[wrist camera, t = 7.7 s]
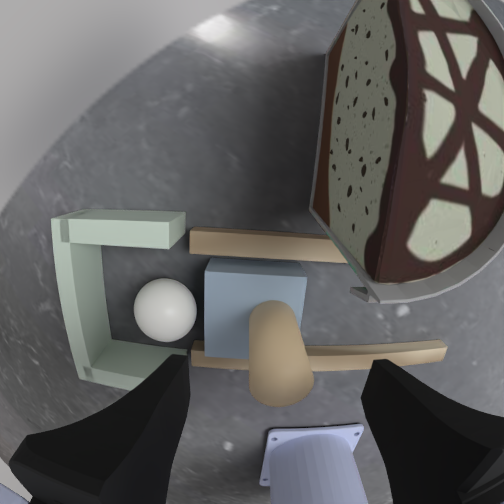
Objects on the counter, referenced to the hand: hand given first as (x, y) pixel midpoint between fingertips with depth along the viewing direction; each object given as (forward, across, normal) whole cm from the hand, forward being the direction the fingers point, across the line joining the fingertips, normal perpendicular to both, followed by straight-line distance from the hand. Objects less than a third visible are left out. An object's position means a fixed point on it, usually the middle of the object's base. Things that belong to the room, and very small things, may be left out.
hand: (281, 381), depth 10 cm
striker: (+7, 0, 0) cm, 7 cm away
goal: (+7, +8, 0) cm, 11 cm away
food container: (+7, -5, -10) cm, 14 cm away
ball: (+5, +6, 0) cm, 8 cm away
